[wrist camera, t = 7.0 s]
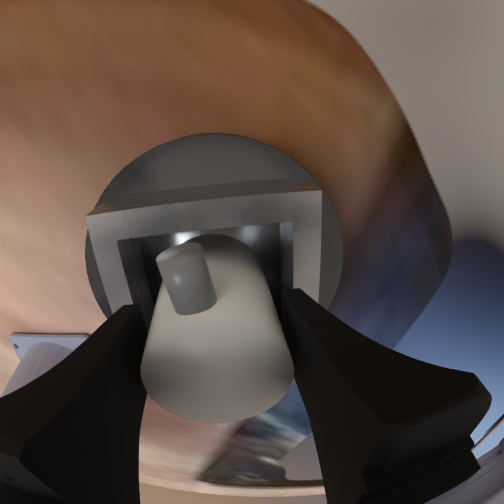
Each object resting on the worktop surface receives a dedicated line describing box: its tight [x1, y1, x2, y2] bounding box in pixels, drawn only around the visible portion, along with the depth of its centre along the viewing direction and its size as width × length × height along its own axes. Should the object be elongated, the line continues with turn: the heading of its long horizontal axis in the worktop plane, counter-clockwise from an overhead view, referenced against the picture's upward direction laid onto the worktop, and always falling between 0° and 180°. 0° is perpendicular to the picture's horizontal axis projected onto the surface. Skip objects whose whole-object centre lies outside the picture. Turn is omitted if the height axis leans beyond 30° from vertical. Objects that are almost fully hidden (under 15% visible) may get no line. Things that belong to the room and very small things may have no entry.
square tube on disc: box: [85, 133, 343, 333], centre depth 14 cm, size 12×12×6 cm
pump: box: [140, 234, 294, 423], centre depth 10 cm, size 6×4×6 cm
